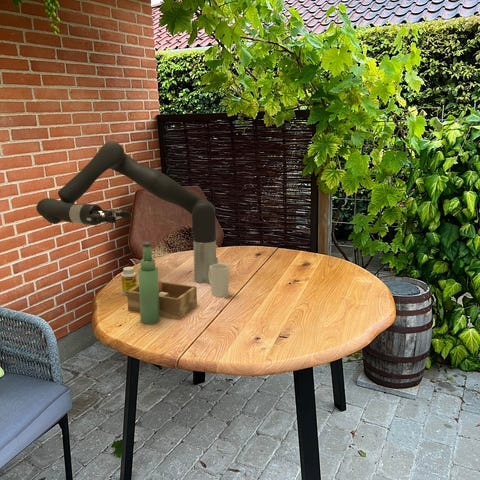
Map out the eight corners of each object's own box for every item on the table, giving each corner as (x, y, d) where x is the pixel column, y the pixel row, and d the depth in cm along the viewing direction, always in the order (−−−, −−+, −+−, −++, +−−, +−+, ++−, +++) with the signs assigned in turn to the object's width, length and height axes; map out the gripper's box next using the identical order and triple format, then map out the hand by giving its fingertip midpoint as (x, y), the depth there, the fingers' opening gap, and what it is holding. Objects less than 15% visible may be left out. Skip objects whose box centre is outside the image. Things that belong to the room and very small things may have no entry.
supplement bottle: (125, 296, 167) (123, 271, 164) (120, 292, 171) (118, 267, 169) (139, 293, 170) (137, 268, 167) (134, 289, 174) (132, 265, 172)
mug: (232, 296, 167) (232, 266, 164) (218, 301, 163) (218, 270, 160) (215, 289, 174) (215, 260, 171) (202, 293, 170) (201, 264, 167)
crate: (149, 299, 164) (147, 277, 162) (197, 307, 157) (196, 284, 154) (128, 313, 152) (126, 288, 150) (179, 322, 145) (178, 296, 143)
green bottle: (156, 316, 148) (153, 239, 142) (162, 323, 143) (159, 243, 136) (138, 319, 146) (134, 241, 139) (143, 326, 140) (140, 246, 134)
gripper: (70, 207, 151) (109, 210, 146) (98, 200, 164) (134, 203, 158) (72, 228, 153) (111, 232, 148) (99, 220, 166) (135, 223, 160)
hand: (123, 217), depth 153 cm, fingers open, 8 cm apart
